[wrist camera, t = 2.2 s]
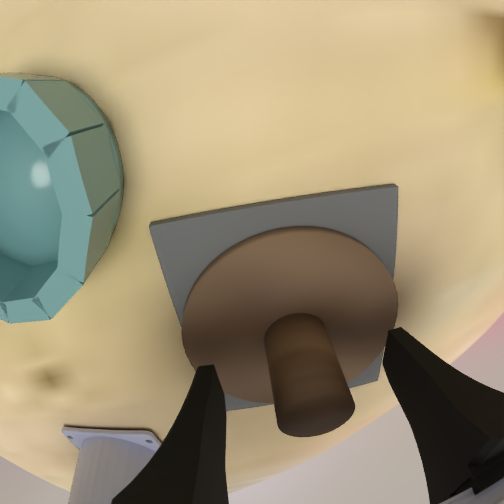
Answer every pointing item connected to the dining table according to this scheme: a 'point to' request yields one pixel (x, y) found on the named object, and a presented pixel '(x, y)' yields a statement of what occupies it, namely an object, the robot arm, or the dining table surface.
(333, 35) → the dining table surface
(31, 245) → the bowl
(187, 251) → the mat
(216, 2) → the dining table surface
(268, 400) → the lid
